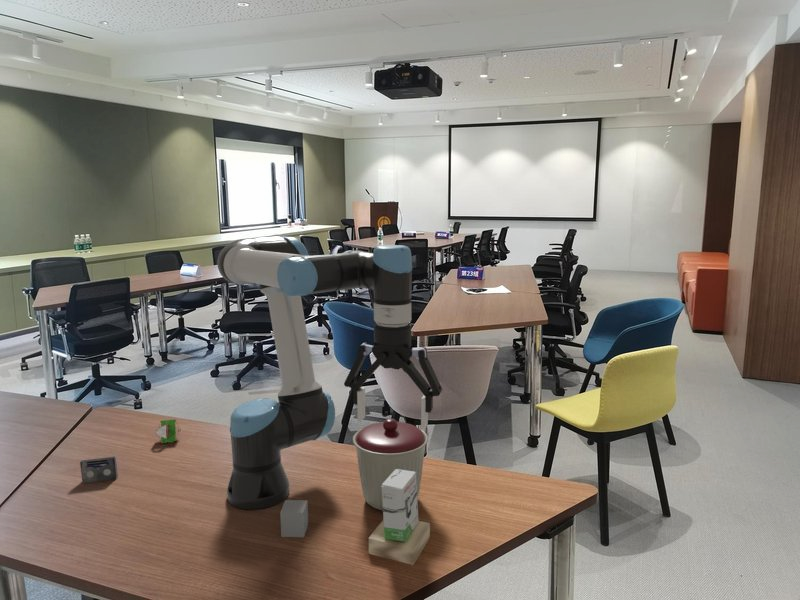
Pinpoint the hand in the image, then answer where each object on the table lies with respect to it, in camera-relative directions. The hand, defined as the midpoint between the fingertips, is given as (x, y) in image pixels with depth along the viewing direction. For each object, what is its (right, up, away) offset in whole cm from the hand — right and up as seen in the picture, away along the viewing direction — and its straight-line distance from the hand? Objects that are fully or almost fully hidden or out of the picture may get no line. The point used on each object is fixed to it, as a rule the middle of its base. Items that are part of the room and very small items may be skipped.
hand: (392, 422), depth 118 cm
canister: (-1, -24, +22) cm, 33 cm away
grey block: (-22, -26, +10) cm, 36 cm away
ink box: (+2, -24, +3) cm, 24 cm away
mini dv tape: (-78, -23, +33) cm, 88 cm away
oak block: (+2, -28, +4) cm, 28 cm away
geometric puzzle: (-69, -18, +57) cm, 92 cm away
